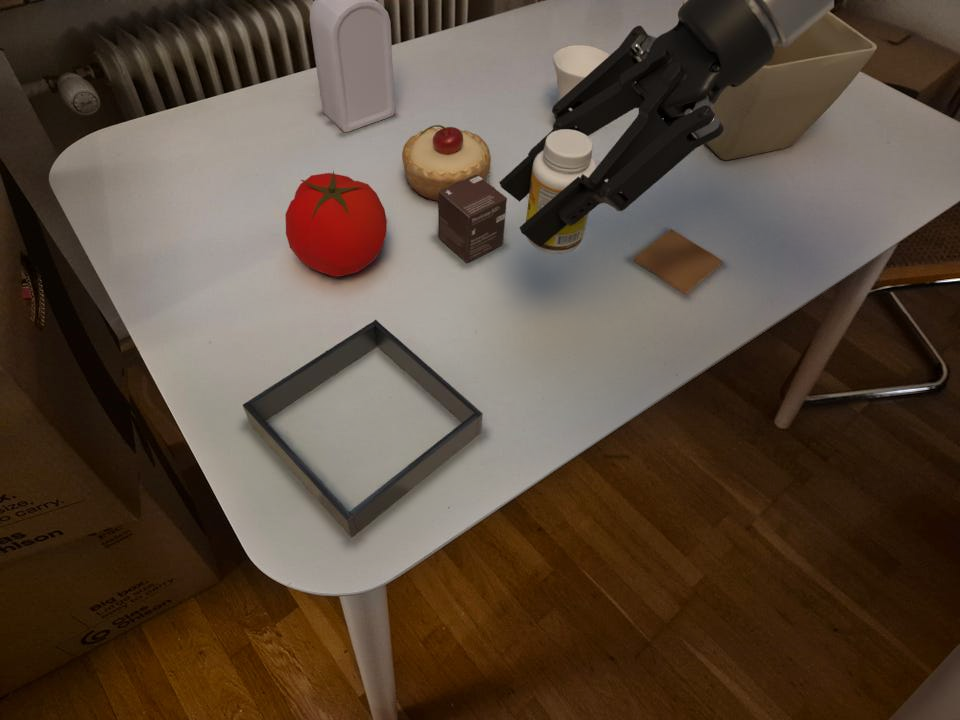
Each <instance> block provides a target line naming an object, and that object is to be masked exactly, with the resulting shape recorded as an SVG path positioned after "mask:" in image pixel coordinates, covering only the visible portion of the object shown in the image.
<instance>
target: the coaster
mask: <svg viewBox="0 0 960 720" xmlns="http://www.w3.org/2000/svg"><path fill="white" fill-rule="evenodd" d="M632 260H633V261H634V262H635V263H636V264H638V265H640V266H642V267H643V268H645V269H646V270H647V271H649V272H650V273H652V274H654V275H655V276H656V277H658V278H659V279H661V280H663V281H664V282H666V283H667V284H668V285H671V287H673V288H674V289H676V290H678V291H679V292H681V293H682V294H684V295H687V294H688V293H689V292H691V291H692V290H693V289H694V288H695V287H697V286H698V285H699V284H700V283H702V282H703V281H704V280H705V279H706V278H707V277H708V276H709V275H711V274H712V273H713V272H715V270H716V269H718V268H719V267H720V266H721V265H722V264H723V262H724V260H723V259H721V258H720V257H717V256H716V255H714V254H713V253H712V252H709V251H708V250H706V249H705V248H703V247H702V246H700V245H698V244H696V243H695V242H693V241H691V240H690V239H689V238H687V237H685V236H683V235H682V234H681V233H678V232H677V231H676V230H674V229H672V228H670V229H669V230H668V231H667V232H665V233H663V234H662V235H661V236H660V237H658V238H657V239H656V240H654V241H653V242H652V243H651V244H649V245H647V246H646V247H645V248H644V249H643V250H641V251H640V252H639V253H637V254H636V255H635V256H634V257H633V259H632Z"/></svg>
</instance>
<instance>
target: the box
mask: <svg viewBox="0 0 960 720" xmlns="http://www.w3.org/2000/svg"><path fill="white" fill-rule="evenodd" d="M507 202H508V198H507V197H506V196H505V195H504V194H503V193H501V191H499V190H498V189H496V188H495V187H494V186H492V185H491V184H490V183H489V182H488V181H486V180H484V179H482V178H481V177H480V176H478V175H474V176H472V177H469V178H467V179H465V180H462V181H458V182H456V183H454V184H453V185H451V186H449V187H447V188H444V189H442V190H440V191H439V198H438V202H437V203H438V210H437V211H438V214H437V215H438V216H437V217H438V218H437V223H438V225H437V227H438V228H437V238H438V239H439V240H441V241H442V242H443V243H444V244H445V245H446V246H448V247H449V248H450V250H452V251H453V252H454V253H455V254H456V255H458V256H459V257H460V258H461V259H462V260H463V261H464V262H465V263H470V262H472V261H473V260H475V259H476V260H477V259H478V258H480V257H482V256H484V255H486V254H488V253H490V252H492V251H493V250H496V248H500V247H501V246H503V245H504V235H505V224H506V214H507Z"/></svg>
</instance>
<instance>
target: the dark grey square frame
mask: <svg viewBox="0 0 960 720" xmlns="http://www.w3.org/2000/svg"><path fill="white" fill-rule="evenodd" d="M375 348H379V349H380V350H381V351H382V352H383V353H384V354H385V355H386V356H388V358H389V359H391V360H392V361H393V362H394V363H395V364H396V365H397V366H399V367H400V368H401V369H402V370H403V371H404V372H405V373H406V374H407V375H408V376H409V377H411V378H412V379H413V380H414V381H415V382H416V383H417V384H418V385H420V386H421V387H422V388H423V389H424V390H425V391H426V392H428V394H430V395H431V396H432V397H433V398H434V399H435V400H436V401H437V402H438V403H440V404H441V405H442V406H443V407H444V408H445V409H446V410H448V411H449V413H451V414H452V415H453V416H454V417H455V418H456V419H458V420H459V421H460V422H461V423H460V424H459V425H457V426H456V427H455V428H454V429H452V430H451V431H450V432H449V433H447V434H446V435H444V436H443V437H442V438H441V439H440V440H438V441H437V442H436V443H435V444H433V445H432V446H431V447H430V448H428V449H427V450H426V451H424V452H423V453H422V454H421V455H419V456H418V457H417V458H416V459H414V460H413V461H412V462H410V463H409V464H408V465H406V467H404V468H403V469H402V470H400V471H399V472H397V474H395V475H394V476H393V477H392V478H390V479H389V480H388V481H386V482H385V483H384V484H382V485H381V486H380V487H379V488H377V489H376V490H375V491H373V493H371V494H370V495H369V496H367V497H366V498H365V499H363V500H362V501H361V502H360V503H359V504H357V505H356V506H355V507H354V508H352V509H351V510H350V511H349V510H348V509H347V508H346V507H345V506H344V505H343V504H342V503H341V501H340V500H338V498H337V497H336V496H335V495H334V494H333V493H332V492H331V491H330V490H329V489H328V487H327V486H326V485H325V484H324V483H323V482H322V481H321V479H320V478H319V477H318V476H317V475H316V474H315V473H314V472H313V471H312V470H311V469H310V468H309V467H308V466H307V464H306V463H304V461H303V460H302V459H301V458H300V457H299V456H298V455H297V453H296V452H295V451H294V450H293V449H292V448H291V447H290V446H289V445H288V444H287V443H286V442H285V441H284V439H283V437H281V436H280V435H279V434H278V433H277V432H276V430H274V428H273V427H272V426H271V425H270V424H269V423H268V422H267V420H268V419H270V418H271V417H273V416H274V415H277V413H279V412H280V411H282V410H284V408H285V409H286V407H288V406H290V405H291V404H292V403H294V402H295V401H297V400H298V399H300V398H301V397H303V396H305V395H306V394H308V393H309V392H310V391H312V390H313V389H315V388H317V387H318V386H320V385H321V384H323V383H324V382H326V381H327V380H329V379H331V378H332V377H333V376H335V375H336V374H338V373H339V372H340V371H342V370H344V369H345V368H346V367H349V366H350V365H352V364H353V363H355V361H357V360H360V358H362V357H363V356H365V355H367V354H368V353H370V352H372V351H373V350H374V349H375ZM242 408H243V410H244V413H245V415H246V418H247V420H248V422H249V425H250V427H252V429H253V430H254V431H255V432H256V433H257V434H258V435H259V436H260V438H262V440H263V441H264V442H265V443H266V444H267V445H268V446H269V447H270V448H271V450H272V451H273V452H274V453H275V454H276V455H277V457H279V459H280V460H281V461H282V462H283V463H284V464H285V465H286V466H287V468H288V469H289V470H290V471H291V472H292V473H293V474H294V475H295V476H296V477H297V479H298V480H299V481H300V482H301V483H302V485H304V486H305V488H306V489H307V490H308V491H309V492H310V494H312V496H313V497H314V498H315V499H316V500H317V501H318V502H319V503H320V505H322V507H323V508H324V509H325V510H326V511H327V512H328V513H329V515H331V516H332V518H333V519H334V520H335V521H336V522H337V523H338V525H340V526H341V527H342V529H343V530H344V531H345V532H346V533H347V534H348V535H349V537H350V538H353V537H354V536H356V535H357V534H358V533H359V532H361V531H362V530H363V529H365V528H366V527H367V526H368V525H369V524H370V523H372V522H373V521H374V520H376V519H377V518H378V517H379V516H381V515H382V514H383V513H384V512H385V511H386V510H388V509H389V508H390V507H392V506H393V505H394V504H395V503H396V502H397V501H399V500H400V499H401V498H402V497H404V496H405V495H406V494H407V493H409V492H410V491H411V490H412V489H413V488H415V487H416V486H417V485H418V484H420V483H421V482H422V481H423V480H425V479H426V478H427V477H428V476H429V475H431V474H432V473H433V472H434V471H436V470H437V469H438V468H439V467H441V466H442V465H443V464H444V463H446V461H448V460H450V458H451V457H452V456H454V455H455V454H457V453H458V452H459V451H460V450H462V448H464V447H465V446H466V445H468V444H469V443H470V442H471V441H473V440H474V439H475V438H476V437H477V436H479V434H481V433H482V425H483V423H482V422H483V414H484V413H483V412H482V411H481V410H480V409H478V408H477V407H476V406H475V405H474V404H473V403H472V402H470V401H469V400H468V399H467V398H466V397H465V396H464V395H463V394H462V393H460V392H459V391H458V390H456V389H455V387H453V386H452V385H451V384H450V383H449V382H447V381H446V380H445V379H444V378H443V377H442V376H441V375H440V374H439V373H437V372H436V371H435V370H434V369H433V368H431V367H430V366H429V365H428V364H427V363H426V362H425V361H423V359H421V358H420V357H419V356H418V355H417V354H416V353H414V352H413V350H411V349H410V348H409V347H408V346H406V345H405V344H404V343H403V342H402V341H400V339H399V338H398V337H396V335H394V334H393V333H392V332H391V331H389V330H388V329H387V328H386V327H385V326H384V325H383V324H382V323H380V322H379V321H378V320H377V319H375V320H373V321H372V322H370V323H368V324H367V325H365V326H364V327H362V328H361V329H359V330H357V331H356V332H354V333H352V334H351V335H349V336H348V337H346V338H344V339H343V340H342V341H340V342H338V343H337V344H335V345H334V346H332V347H330V348H329V349H328V350H326V351H325V352H323V353H321V354H319V355H318V356H316V357H315V358H313V359H311V360H310V361H309V362H307V363H305V364H304V365H303V366H301V367H299V368H298V369H296V370H294V371H293V372H291V373H290V374H288V375H287V376H285V377H284V378H282V379H281V380H279V381H277V382H275V383H274V384H273V385H271V386H269V387H268V388H266V389H265V390H263V391H262V392H260V393H259V394H257V395H255V396H254V397H252V398H251V399H249V400H248V401H246V402H244V403H243V404H242Z"/></svg>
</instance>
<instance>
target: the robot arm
mask: <svg viewBox="0 0 960 720" xmlns="http://www.w3.org/2000/svg"><path fill="white" fill-rule="evenodd" d="M842 1H843V0H688V1H687V2H686V3H685V4H684V5H683V4H682V5H681V6H680V7H679V9H678V11H677V17H678V22H677V24H676V25H675V26H674V27H673V28H671V29H670V30H668V31H666V32H664V33H662V34H660V35H658V36H657V37H655V36H654V35H653V36H652V35H650V34H648V33H647V31H646V30H645V28H644V27H643V26H642V25H637V26H635V27H634V28H632V29H631V31H630V32H629V33H628V35H627V36H626V37H625V39H624V40H623V41H622V42H621V44H620V45H619V47H617V48H616V49H615V50H613V52H612V53H611V54H609V55H610V56H609V57H608V58H606V59H605V60H604V61H603V62H602V63H601V64H600V65H599V66H597V67H596V68H595V69H594V70H593V71H592V72H591V73H590V74H588V75H587V76H586V77H585V78H584V79H583V80H582V81H581V82H579V83H578V84H577V85H576V86H575V87H574V88H573V89H572V90H570V91H569V92H568V93H567V94H566V95H565V96H564V97H563V98H561V99H560V100H559V101H558V100H557V102H556V103H555V104H554V105H552V108H551V113H552V114H553V116H554V122H553V125H552V129H551V131H549V132H548V133H547V134H546V135H545V136H544V137H543V138H541V140H540V141H539V142H537V144H536V145H534V146H533V147H532V148H531V149H530V150H529V152H528V153H527V156H526V157H525V158H524V159H523V160H522V161H521V162H519V163H518V165H516V166H515V167H514V168H513V169H512V170H510V172H509V173H508V174H506V176H504V177H503V178H502V179H501V180H499V186H500V188H501V189H503V190H504V191H505V192H506V193H508V194H509V195H510V196H512V197H513V198H514V199H515V200H517V201H518V202H519V203H520V202H521V201H522V200H523V199H525V198H526V196H529V192H530V184H531V176H532V168H533V162H534V160H535V158H536V156H537V155H538V154H539V153H540V152H541V151H543V150H544V147H545V142H546V138H547V136H548V135H549V134H550V133H552V132H554V131H557V130H562V129H570V130H576V131H579V132H581V133H583V134H585V135H587V136H588V137H589V136H591V135H592V134H594V133H596V132H597V131H599V130H600V129H601V130H602V128H604V127H606V126H607V125H609V124H611V123H612V122H614V121H616V120H618V119H619V118H621V117H623V116H625V115H626V114H627V113H630V112H631V111H633V110H634V109H638V114H637V116H636V117H635V119H634V120H633V121H632V122H631V124H630V125H628V128H626V130H625V131H624V132H623V134H622V135H621V136H620V137H619V139H618V140H617V141H616V142H615V144H614V145H613V146H612V147H611V149H610V150H609V151H608V152H607V154H606V155H605V156H604V157H603V159H601V161H600V162H599V163H598V164H597V167H596V169H595V170H594V171H593V172H592V174H591V175H590V176H589V177H586V176H585V175H583V174H582V176H581V178H580V177H579V176H578V177H577V178H576V179H575V180H574V181H573V182H571V183H570V184H569V185H568V186H567V187H566V188H564V189H563V190H562V191H561V192H560V193H559V194H557V195H556V196H555V197H554V198H553V199H552V200H551V201H549V202H548V203H547V204H546V205H545V206H544V207H542V208H541V209H540V210H539V211H538V212H537V213H535V214H534V215H533V216H532V217H531V218H530V219H529V220H527V221H526V220H525V221H524V223H522V225H520V226H519V230H520V232H521V234H522V235H524V236H525V237H526V238H527V237H528V238H529V239H531V240H532V241H533V242H535V243H536V244H537V245H539V246H540V247H541V246H542V245H543V244H545V243H546V242H547V241H548V240H549V239H551V238H552V237H553V236H554V235H555V234H557V233H558V232H559V231H560V230H561V229H563V228H564V227H565V226H566V225H567V224H568V225H569V226H571V225H574V224H576V223H577V222H578V221H579V220H580V219H582V218H583V217H584V216H585V215H587V214H588V213H589V214H590V213H591V212H592V211H593V210H594V209H595V208H597V206H599V205H601V204H607V205H609V206H610V207H612V208H613V209H614V210H616V211H617V212H623V211H624V210H626V209H627V208H628V207H630V205H631V204H633V203H634V202H635V201H636V200H638V199H639V198H640V197H641V196H642V195H643V194H645V193H646V192H647V191H648V190H649V189H650V188H652V187H653V186H654V185H655V184H656V183H657V182H659V180H661V179H662V178H663V177H664V176H666V174H668V173H669V172H671V170H672V169H673V168H675V167H676V166H677V165H678V164H679V163H680V162H681V161H683V160H684V159H685V158H686V157H688V156H689V155H690V154H691V153H692V152H693V151H695V150H696V149H697V148H698V147H701V146H703V145H705V144H706V143H707V142H709V141H711V140H713V139H715V138H716V137H718V136H720V135H721V134H722V132H723V130H724V127H723V125H722V124H721V122H720V121H719V119H718V118H717V116H716V114H715V110H714V106H713V104H714V103H715V102H716V101H717V99H718V97H719V96H720V94H721V93H722V91H723V90H724V89H725V88H726V87H728V86H731V87H739V86H740V85H742V84H743V83H744V82H745V81H746V80H748V79H749V78H750V77H751V76H752V75H754V74H755V73H756V72H757V71H758V70H760V69H761V68H762V67H763V66H764V65H766V64H767V63H768V62H769V61H771V60H772V59H773V55H774V47H775V46H778V47H780V48H787V47H788V46H789V45H790V44H791V43H792V42H794V41H795V40H796V39H797V38H798V37H800V36H801V35H802V34H803V33H804V32H805V31H807V30H808V29H809V28H810V27H811V26H812V25H814V24H815V23H816V22H817V21H818V20H819V19H821V18H822V17H823V16H824V15H825V14H827V13H828V12H831V10H833V9H835V7H837V6H838V5H839V4H840V3H841V2H842ZM570 107H571V109H572V111H570V110H569V108H570ZM606 180H607V181H606ZM589 214H588V215H589ZM888 720H960V643H958V644H957V645H956V647H954V649H953V650H952V651H951V652H949V654H948V655H947V656H946V658H945V659H943V661H941V663H940V664H939V665H938V666H937V667H936V668H935V669H934V670H933V671H932V672H931V674H930V675H928V677H927V678H926V679H925V680H924V681H923V682H922V683H921V684H920V685H919V686H918V688H916V689H915V690H914V692H913V693H912V694H911V695H910V696H909V697H908V698H907V699H906V700H905V702H903V704H902V705H901V706H900V707H899V708H898V709H897V710H896V711H895V712H894V713H893V715H891V717H890V718H889V719H888Z"/></svg>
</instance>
